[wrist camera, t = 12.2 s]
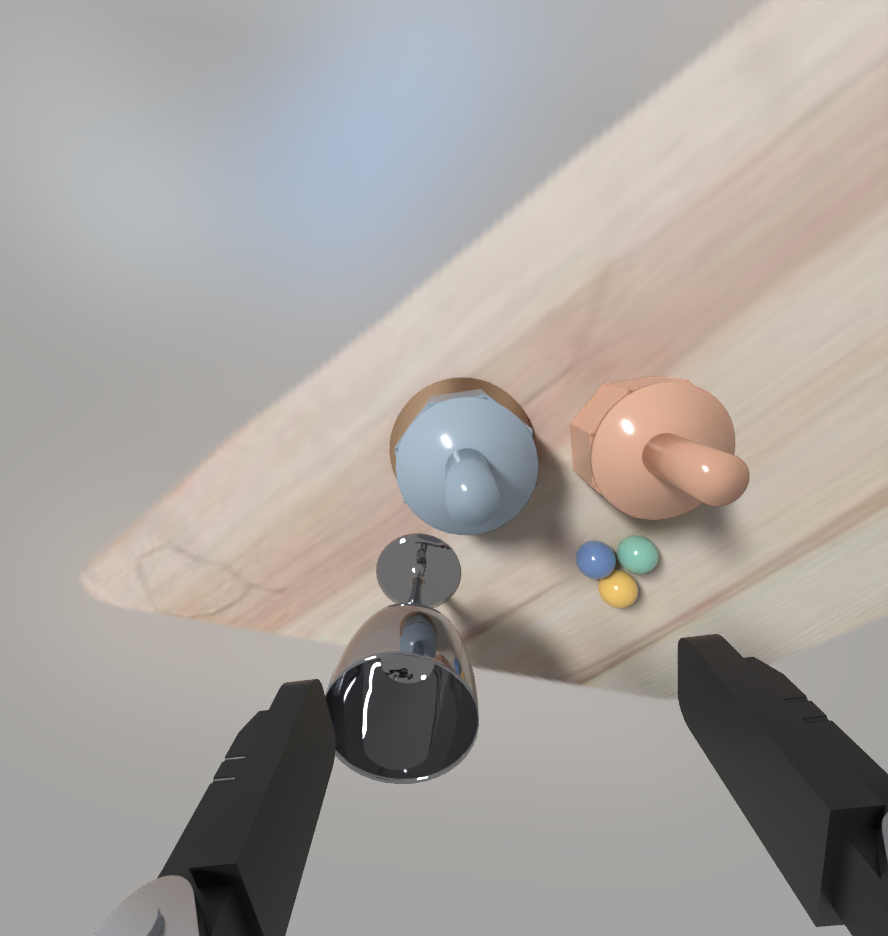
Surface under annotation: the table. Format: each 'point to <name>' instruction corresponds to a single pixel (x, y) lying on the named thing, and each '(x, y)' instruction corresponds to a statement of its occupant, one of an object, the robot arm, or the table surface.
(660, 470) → the terracotta cloche
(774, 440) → the table surface
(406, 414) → the disc
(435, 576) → the wine glass
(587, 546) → the marble inkblue
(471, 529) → the slate cloche
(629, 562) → the marble seagreen
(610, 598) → the marble amber
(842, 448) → the table surface
